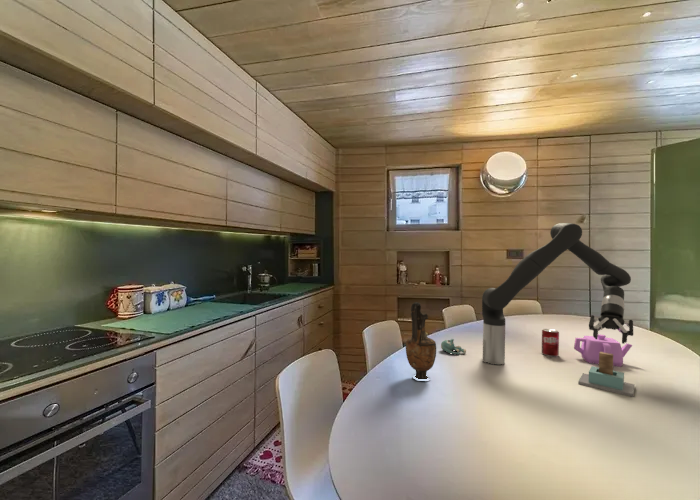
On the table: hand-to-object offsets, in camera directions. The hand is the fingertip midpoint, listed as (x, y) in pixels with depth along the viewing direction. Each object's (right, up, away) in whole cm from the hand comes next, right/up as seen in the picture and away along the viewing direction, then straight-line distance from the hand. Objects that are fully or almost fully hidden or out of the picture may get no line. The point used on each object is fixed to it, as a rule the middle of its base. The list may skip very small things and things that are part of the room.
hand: (609, 340), depth 132 cm
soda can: (-5, -16, +31) cm, 35 cm away
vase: (-76, -14, -4) cm, 78 cm away
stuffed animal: (-52, -15, +32) cm, 63 cm away
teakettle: (+14, -16, +23) cm, 32 cm away
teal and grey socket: (-6, -15, -6) cm, 18 cm away
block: (-6, -14, -6) cm, 17 cm away
